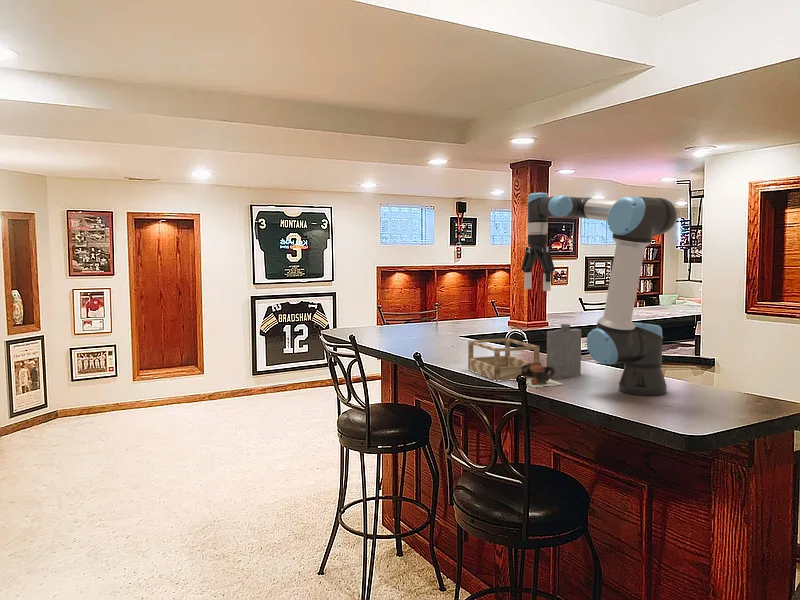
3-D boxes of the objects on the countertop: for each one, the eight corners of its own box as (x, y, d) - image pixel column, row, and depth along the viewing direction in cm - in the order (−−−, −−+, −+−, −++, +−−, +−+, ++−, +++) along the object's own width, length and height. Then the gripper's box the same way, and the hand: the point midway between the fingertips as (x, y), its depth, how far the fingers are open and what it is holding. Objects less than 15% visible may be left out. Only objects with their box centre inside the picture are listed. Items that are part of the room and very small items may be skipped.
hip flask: (576, 373, 240) (577, 322, 239) (584, 375, 237) (584, 323, 235) (544, 377, 233) (545, 324, 231) (552, 379, 229) (552, 325, 228)
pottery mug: (524, 386, 215) (518, 364, 219) (525, 393, 224) (519, 372, 227) (558, 378, 214) (551, 356, 217) (558, 385, 222) (552, 364, 226)
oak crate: (539, 378, 231) (539, 346, 230) (496, 381, 225) (496, 349, 225) (508, 367, 254) (508, 338, 253) (468, 370, 248) (468, 340, 247)
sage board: (562, 385, 218) (562, 383, 218) (532, 387, 214) (532, 386, 214) (544, 379, 230) (544, 377, 230) (515, 381, 226) (515, 379, 226)
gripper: (564, 233, 224) (564, 291, 226) (529, 235, 248) (529, 288, 249) (546, 232, 222) (546, 291, 223) (512, 235, 245) (512, 288, 247)
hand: (537, 289), depth 236 cm, fingers open, 13 cm apart
